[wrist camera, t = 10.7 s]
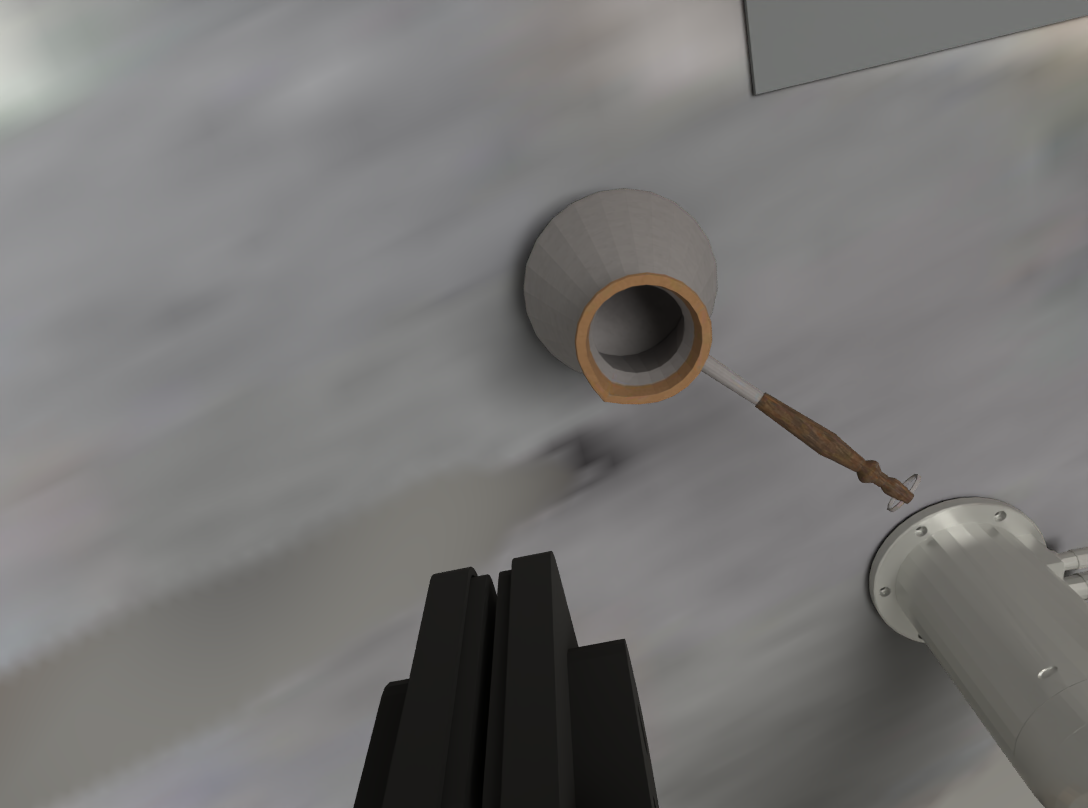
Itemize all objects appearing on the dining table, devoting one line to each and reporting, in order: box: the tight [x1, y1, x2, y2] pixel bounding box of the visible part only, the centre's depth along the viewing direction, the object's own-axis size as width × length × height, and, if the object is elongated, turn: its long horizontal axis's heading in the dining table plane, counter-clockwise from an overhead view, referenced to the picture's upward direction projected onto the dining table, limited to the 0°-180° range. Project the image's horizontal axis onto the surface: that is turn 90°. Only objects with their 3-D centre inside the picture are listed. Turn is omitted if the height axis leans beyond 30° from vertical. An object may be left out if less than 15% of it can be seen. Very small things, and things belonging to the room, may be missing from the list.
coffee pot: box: [523, 188, 921, 512], centre depth 40 cm, size 21×12×15 cm, turn 60°
